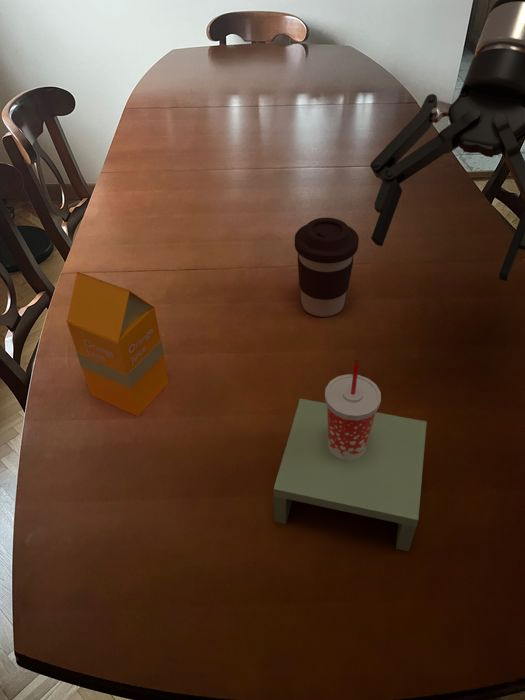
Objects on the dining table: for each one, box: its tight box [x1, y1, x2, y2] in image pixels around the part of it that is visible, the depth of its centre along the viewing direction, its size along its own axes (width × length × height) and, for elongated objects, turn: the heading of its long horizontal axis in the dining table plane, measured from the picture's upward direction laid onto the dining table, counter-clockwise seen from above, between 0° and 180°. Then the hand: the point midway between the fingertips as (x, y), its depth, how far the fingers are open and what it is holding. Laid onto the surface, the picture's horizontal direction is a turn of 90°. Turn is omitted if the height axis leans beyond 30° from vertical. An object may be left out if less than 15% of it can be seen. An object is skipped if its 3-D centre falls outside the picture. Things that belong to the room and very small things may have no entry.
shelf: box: [272, 398, 427, 552], centre depth 72 cm, size 14×16×7 cm
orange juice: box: [65, 271, 170, 418], centre depth 81 cm, size 8×9×20 cm
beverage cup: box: [324, 359, 382, 461], centre depth 66 cm, size 6×6×14 cm
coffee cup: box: [294, 217, 360, 318], centre depth 96 cm, size 10×10×15 cm
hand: (437, 259), depth 62 cm, fingers open, 13 cm apart
